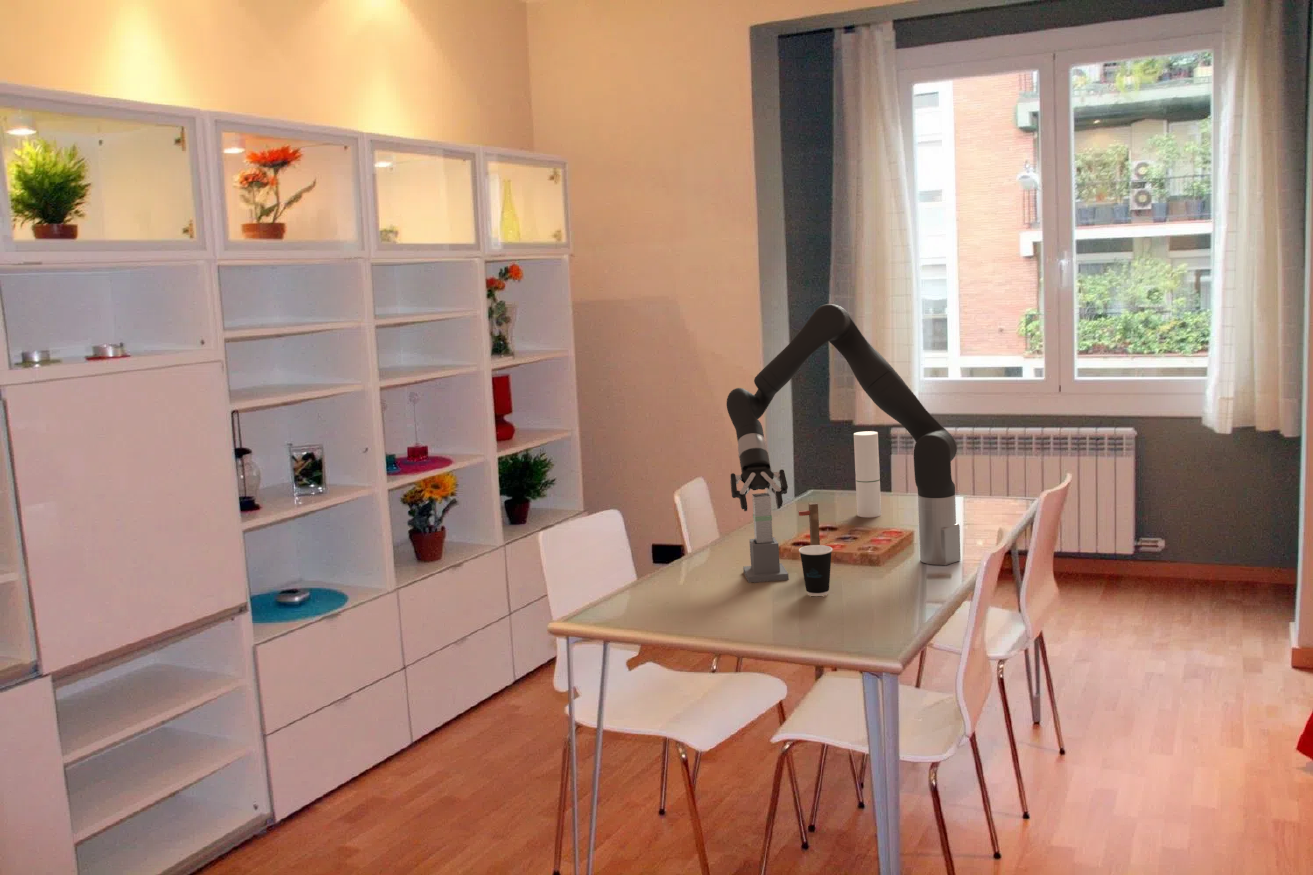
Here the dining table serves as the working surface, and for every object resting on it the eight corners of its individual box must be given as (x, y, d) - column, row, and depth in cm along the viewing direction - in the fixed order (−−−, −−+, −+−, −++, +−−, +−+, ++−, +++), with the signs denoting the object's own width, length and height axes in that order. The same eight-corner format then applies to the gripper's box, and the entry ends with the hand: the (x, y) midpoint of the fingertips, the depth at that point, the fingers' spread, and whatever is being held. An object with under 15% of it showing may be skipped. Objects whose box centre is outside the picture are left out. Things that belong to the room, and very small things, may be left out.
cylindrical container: (879, 511, 351) (876, 430, 347) (882, 516, 344) (878, 434, 340) (856, 512, 352) (852, 432, 348) (858, 517, 345) (854, 435, 341)
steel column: (771, 546, 292) (768, 492, 289) (773, 550, 287) (770, 495, 285) (754, 547, 291) (751, 493, 289) (757, 551, 287) (754, 497, 285)
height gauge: (822, 568, 293) (819, 501, 290) (825, 573, 289) (822, 504, 286) (800, 570, 293) (797, 502, 290) (803, 574, 289) (800, 506, 286)
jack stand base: (782, 568, 296) (780, 534, 294) (788, 579, 286) (786, 544, 284) (743, 572, 295) (741, 538, 294) (748, 582, 285) (746, 547, 284)
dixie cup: (826, 587, 277) (824, 543, 275) (840, 596, 269) (838, 550, 268) (796, 591, 275) (793, 547, 273) (808, 600, 268) (806, 555, 266)
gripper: (726, 448, 293) (734, 502, 283) (782, 444, 293) (792, 497, 284) (725, 465, 299) (733, 518, 289) (779, 461, 299) (789, 514, 290)
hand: (762, 508), depth 286 cm, fingers open, 8 cm apart
